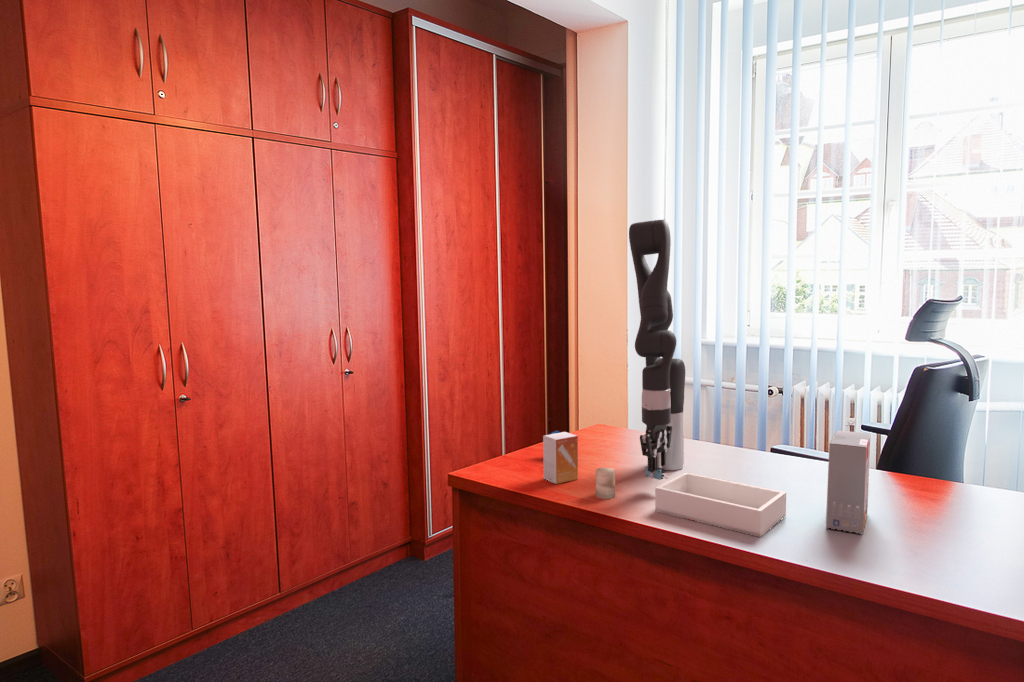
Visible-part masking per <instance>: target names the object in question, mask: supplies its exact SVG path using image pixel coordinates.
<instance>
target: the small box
mask: <svg viewBox="0 0 1024 682" xmlns="http://www.w3.org/2000/svg"><path fill="white" fill-rule="evenodd" d="M549 434H550V433H549ZM578 438H579V436H578V435H577V434H574V433H570V432H567V431H562V432H561V431H560V433H555V434H550V435H548V434H546V435H545V434H544V435H542V444H543V445H542V449H543V452H542V453H543V454H542V455H543V461H542V462H543V463H542V465H543V480H545V479H546V480H545V481H547V480H548V482H550V483H552V484H555V485H558V484H562V483H566V482H572V481H575V480H576V479H577V480H578V479H579V475H578V474H579V473H578V471H579V464H578V462H579V460H578V459H579V457H578V455H579V454H578V453H579V452H578V451H579V449H578V445H579V444H578V441H579V439H578Z"/></svg>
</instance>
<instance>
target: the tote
mask: <svg viewBox="0 0 1024 682" xmlns="http://www.w3.org/2000/svg"><path fill="white" fill-rule="evenodd" d="M654 492H655V493H654V494H655V495H654V496H655V501H654V502H655V503H654V504H655V512H656V513H660V514H665V515H669V516H673V517H675V518H680V519H684V518H686V519H685V520H688V519H690V520H689V521H692V520H695V521H694V522H696V521H699V522H698V523H700V522H703V523H702V524H704V523H706V524H705V525H708V524H710V525H709V526H712V525H714V526H713V527H716V526H718V527H717V528H720V527H722V528H721V529H724V528H726V529H725V530H728V529H730V530H729V531H732V530H735V531H734V532H736V531H738V533H740V532H742V533H741V534H744V533H745V535H748V534H750V535H749V536H752V535H754V537H756V536H758V537H757V538H761V536H762V535H763V534H764V535H765V534H767V533H768V532H769V531H770V530H771V529H773V528H774V527H775V526H776V525H777V524H776V523H778V522H779V521H780V520H781V519H782V518H784V517H785V516H786V517H787V492H786V491H781V490H776V489H773V488H772V489H771V488H765V487H763V486H762V487H761V486H757V485H751V484H747V483H746V484H745V483H741V482H736V481H731V480H725V479H720V478H716V477H715V478H714V477H710V476H706V475H701V474H700V475H699V474H696V473H692V472H691V473H690V472H684V473H682V474H680V475H678V476H677V477H674V478H672V479H670V480H668V481H665V482H664V483H662V484H660V485H658V486H656V487H655V491H654ZM786 517H785V518H786ZM785 518H784V519H785ZM782 520H783V519H782ZM782 520H781V521H782ZM781 521H780V522H781ZM780 522H779V523H780ZM779 523H778V524H779ZM775 524H776V525H775ZM774 525H775V526H774ZM773 526H774V527H773ZM772 527H773V528H772ZM770 528H771V529H770ZM769 529H770V530H769ZM768 530H769V531H768ZM767 531H768V532H767ZM766 532H767V533H766ZM764 535H763V536H764ZM763 536H762V537H763Z"/></svg>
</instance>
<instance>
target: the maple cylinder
mask: <svg viewBox="0 0 1024 682" xmlns="http://www.w3.org/2000/svg"><path fill="white" fill-rule="evenodd" d="M596 496H597V497H598V499H600V498H602V500H610V499H611V498H612V499H614V498H616V470H615V469H614V468H612V467H599V468H596V470H595V497H596ZM597 497H596V498H597Z"/></svg>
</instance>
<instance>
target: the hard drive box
mask: <svg viewBox="0 0 1024 682" xmlns="http://www.w3.org/2000/svg"><path fill="white" fill-rule="evenodd" d="M870 451H871V433H870V432H869V433H868V432H858V431H848V430H840V429H839V430H836V431H835V433H834V434H833V437H832V438H831V440H830V442H829V447H828V467H827V468H828V469H827V470H828V471H827V489H826V490H827V491H826V510H825V511H826V513H825V514H826V515H825V529H826V528H827V529H829V528H831V530H835V529H837V530H836V531H841V530H843V531H842V532H846V531H849V532H848V533H852V532H856V533H855V534H858V533H863V534H864V531H863V530H865V526H866V522H865V521H866V520H867V516H868V507H869V503H868V502H869V485H870V484H869V480H870V479H869V477H870V456H871V455H870V454H871V452H870Z"/></svg>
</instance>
